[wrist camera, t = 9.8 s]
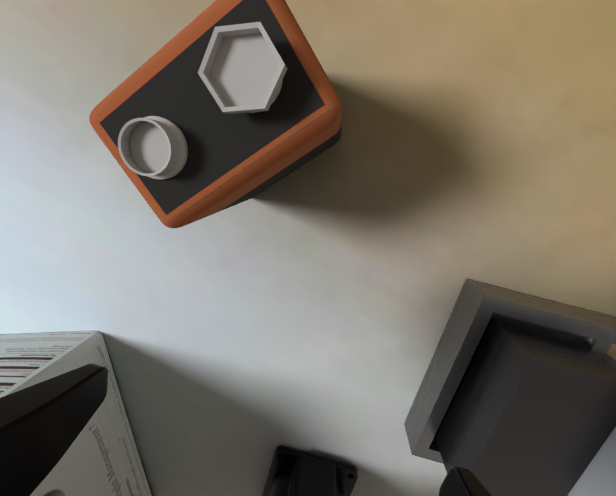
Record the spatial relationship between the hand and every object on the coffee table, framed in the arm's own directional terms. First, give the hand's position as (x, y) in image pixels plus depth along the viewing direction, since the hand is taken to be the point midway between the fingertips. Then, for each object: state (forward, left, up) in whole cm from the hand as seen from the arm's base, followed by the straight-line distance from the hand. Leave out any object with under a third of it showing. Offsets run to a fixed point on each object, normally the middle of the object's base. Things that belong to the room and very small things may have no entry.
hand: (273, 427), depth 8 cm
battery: (+7, +4, -12) cm, 15 cm away
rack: (-4, -16, -12) cm, 20 cm away
